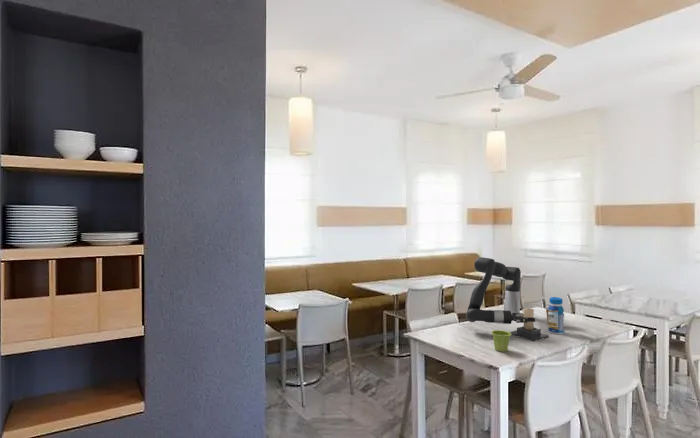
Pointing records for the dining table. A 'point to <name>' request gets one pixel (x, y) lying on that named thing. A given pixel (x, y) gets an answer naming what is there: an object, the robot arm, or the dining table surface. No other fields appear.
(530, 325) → the tan wooden block
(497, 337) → the plant pot
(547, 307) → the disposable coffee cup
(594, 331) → the dining table surface
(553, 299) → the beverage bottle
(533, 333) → the black socket base
